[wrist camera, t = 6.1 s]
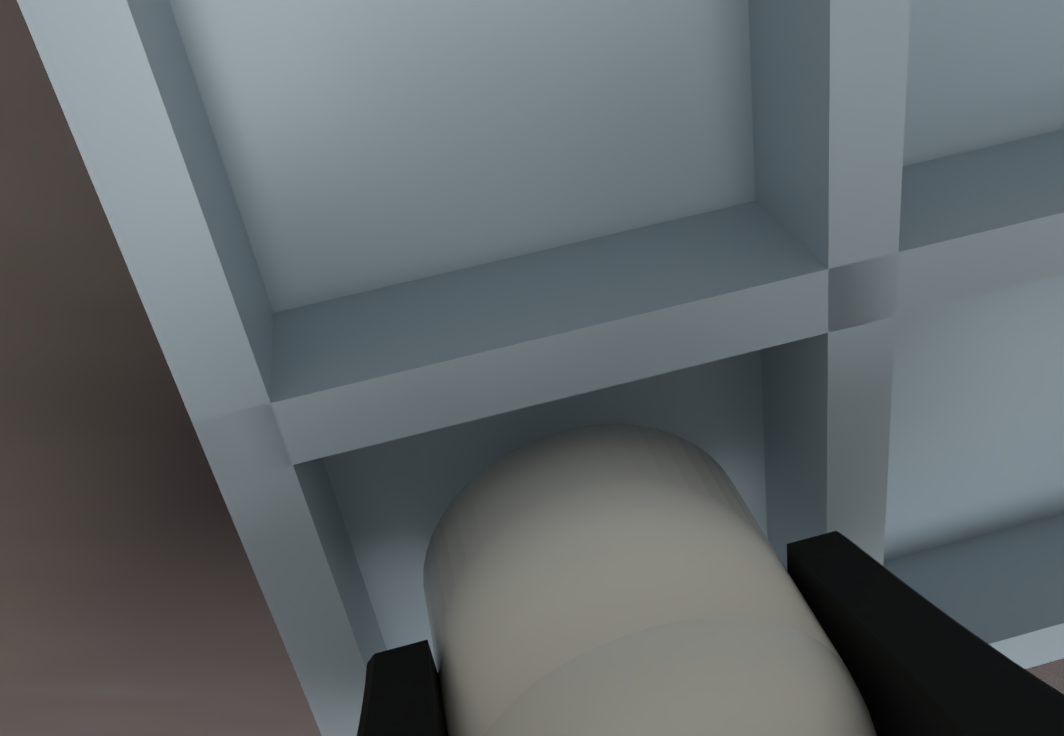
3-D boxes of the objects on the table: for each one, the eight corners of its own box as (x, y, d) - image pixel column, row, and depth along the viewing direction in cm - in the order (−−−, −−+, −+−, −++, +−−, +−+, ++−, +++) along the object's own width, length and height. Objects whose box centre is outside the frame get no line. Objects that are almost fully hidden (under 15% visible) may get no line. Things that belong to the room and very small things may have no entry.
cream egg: (746, 635, 14) (955, 1034, 10) (454, 711, 14) (533, 1164, 9) (739, 389, 12) (1006, 762, 7) (391, 471, 12) (455, 915, 7)
